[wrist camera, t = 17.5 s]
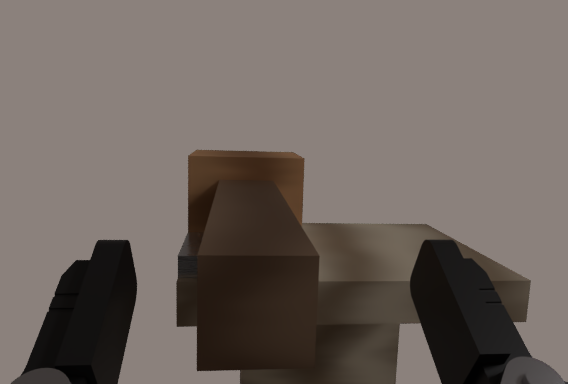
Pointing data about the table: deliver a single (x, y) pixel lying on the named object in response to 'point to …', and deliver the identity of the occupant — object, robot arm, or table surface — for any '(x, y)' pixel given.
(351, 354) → the shelf stand
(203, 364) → the mallet
